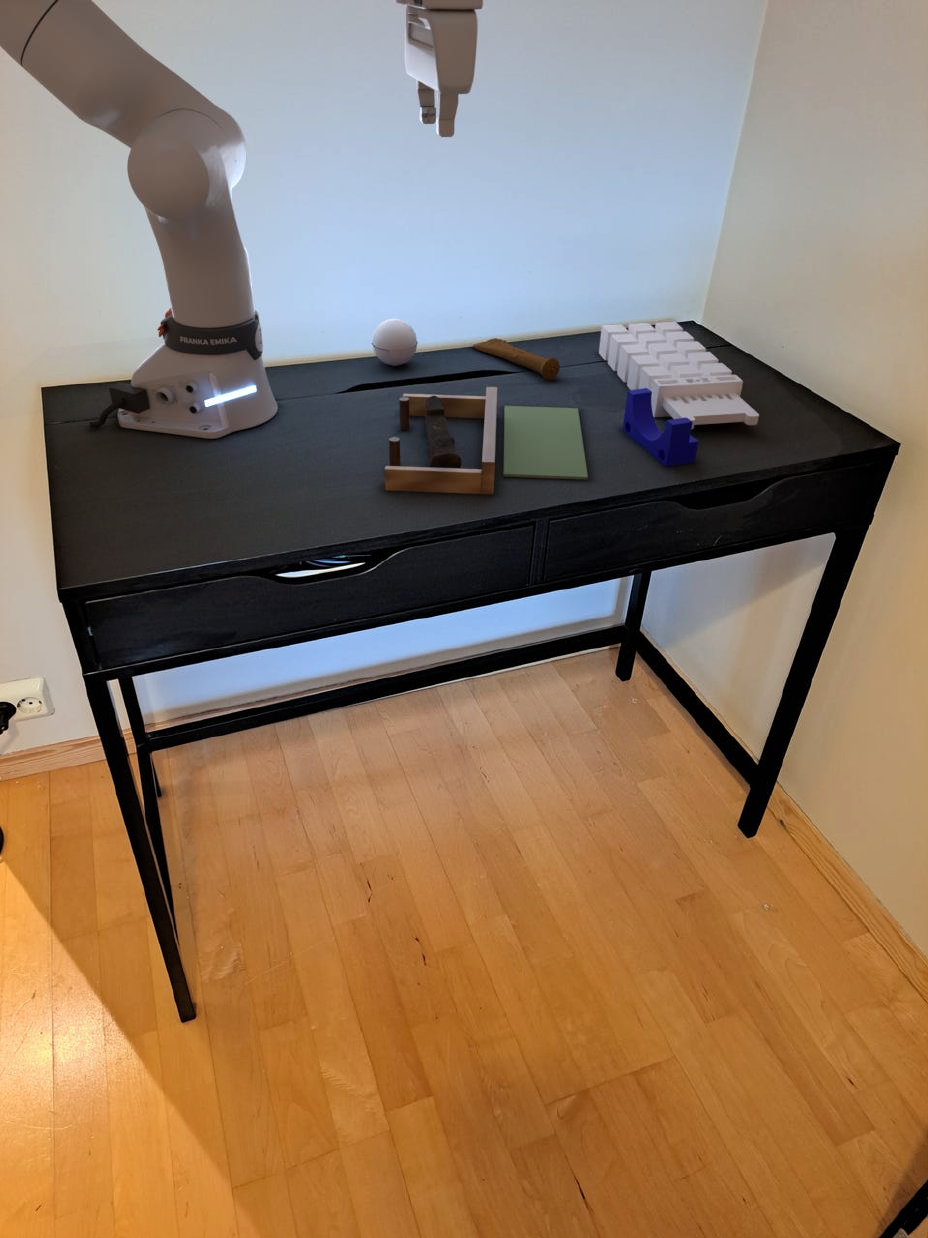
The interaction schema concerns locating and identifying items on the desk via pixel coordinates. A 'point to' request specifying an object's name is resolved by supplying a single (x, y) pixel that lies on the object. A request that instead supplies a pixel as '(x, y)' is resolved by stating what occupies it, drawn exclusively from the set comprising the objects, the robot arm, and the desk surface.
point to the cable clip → (658, 431)
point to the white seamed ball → (394, 342)
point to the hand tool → (439, 436)
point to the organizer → (675, 373)
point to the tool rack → (446, 477)
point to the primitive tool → (520, 357)
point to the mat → (543, 443)
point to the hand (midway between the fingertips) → (436, 129)
